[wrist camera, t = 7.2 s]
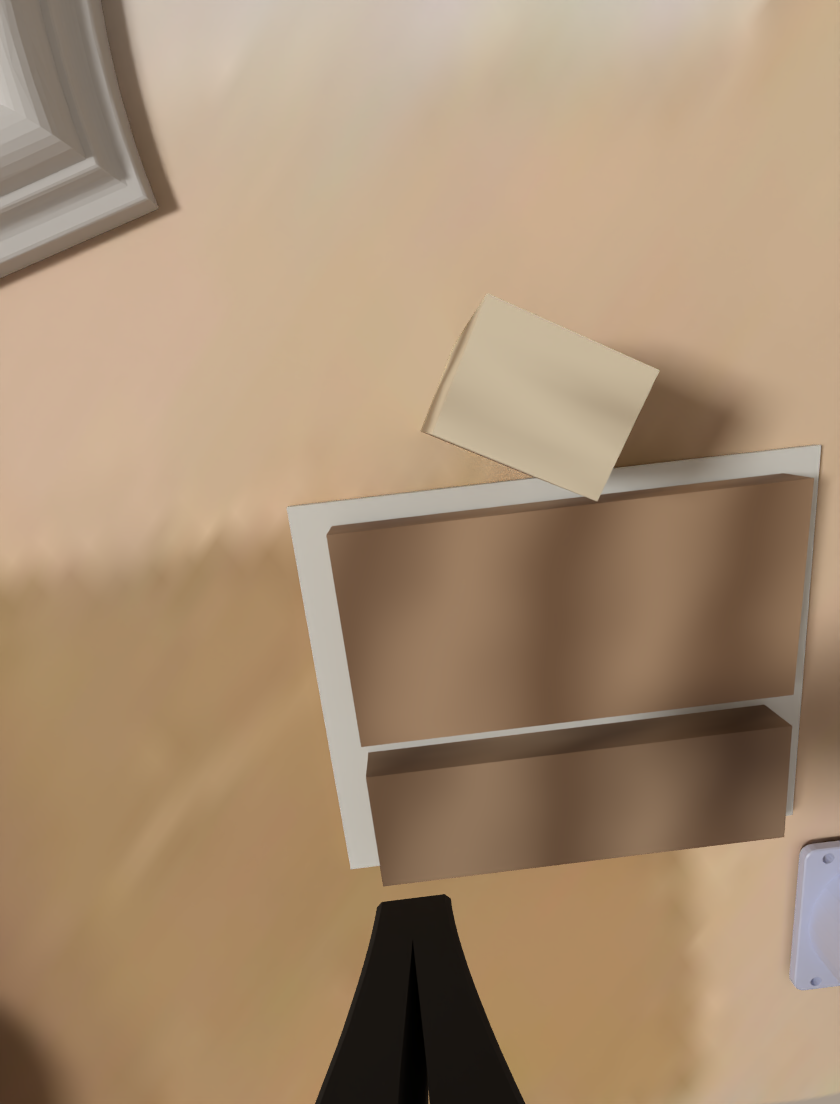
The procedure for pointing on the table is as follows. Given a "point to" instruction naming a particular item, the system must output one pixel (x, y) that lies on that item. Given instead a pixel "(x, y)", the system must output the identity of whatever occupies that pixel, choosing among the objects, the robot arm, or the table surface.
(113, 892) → the table surface
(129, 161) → the molding
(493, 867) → the laid plank
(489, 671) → the board
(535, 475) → the block
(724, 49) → the table surface
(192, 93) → the table surface
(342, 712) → the underlay
